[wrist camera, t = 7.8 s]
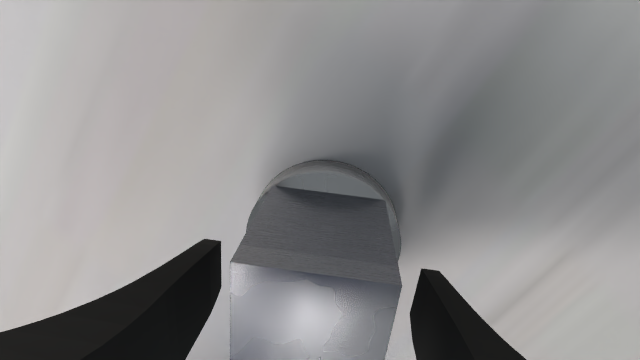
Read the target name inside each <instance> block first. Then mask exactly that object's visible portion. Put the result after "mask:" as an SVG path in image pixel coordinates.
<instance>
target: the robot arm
mask: <svg viewBox="0 0 640 360" xmlns="http://www.w3.org/2000/svg"><path fill="white" fill-rule="evenodd" d="M220 289H221V241H216V240H208V239H203V240H202V241H200V242H198V243H197V244H195V245H194V246H192V247H190V248H189V249H187V250H186V251H184V252H183V253H181V254H180V255H178V256H176V257H175V258H173V259H172V260H170V261H168V262H167V263H165V264H164V265H162V266H160V267H159V268H157V269H155V270H153V271H152V272H150V273H148V274H146V275H145V276H143V277H141V278H139V279H138V280H136V281H134V282H132V283H130V284H128V285H126V286H124V287H122V288H120V289H118V290H116V291H114V292H112V293H110V294H108V295H105V296H103V297H101V298H99V299H96V300H94V301H92V302H89V303H86V304H84V305H81V306H79V307H76V308H74V309H71V310H69V311H66V312H64V313H61V314H58V315H55V316H52V317H49V318H46V319H43V320H41V321H37V322H34V323H31V324H28V325H25V326H21V327H18V328H15V329H11V330H8V331H4V332H0V360H185V359H186V357H187V355H188V354H189V352H190V350H191V348H192V346H193V345H194V343H195V341H196V339H197V337H198V336H199V334H200V332H201V330H202V328H203V327H204V325H205V323H206V321H207V319H208V317H209V316H210V314H211V312H212V309H213V307H214V305H215V302H216V300H217V297H218V294H219V292H220ZM410 321H411V331H412V340H413V345H414V350H415V354H416V359H417V360H526V359H525V358H524V357H523V356H522V355H520V354H519V353H518V352H517V351H516V350H515V349H513V348H512V347H511V346H510V345H509V344H508V343H507V342H506V341H504V340H503V339H502V338H501V337H500V336H499V335H498V334H497V333H496V332H495V331H494V330H493V329H492V328H491V327H490V326H489V325H488V324H487V323H486V322H485V321H484V320H483V319H482V318H481V317H480V316H479V315H478V314H477V313H476V312H475V311H474V310H473V308H472V307H471V306H470V305H469V304H468V303H467V302H466V301H465V300H464V299H463V297H462V296H461V295H460V294H459V293H458V292H457V291H456V289H455V288H454V287H453V286H452V285H451V284H450V283H449V281H448V280H447V279H446V278H445V277H444V276H443V275H442V274H441V273H440V271H436V270H428V269H421V272H420V276H419V280H418V284H417V288H416V292H415V296H414V299H413V303H412V307H411V311H410Z"/></svg>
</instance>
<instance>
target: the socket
mask: <svg viewBox="0 0 640 360" xmlns="http://www.w3.org/2000/svg"><path fill="white" fill-rule="evenodd" d="M401 288H402V283H401V277H400V272H399V267H398V262H397V257H396V252H395V247H394V242H393V237H392V232H391V227H390V222H389V217H388V212H387V207H386V202H385V200H382V199H374V198H366V197H358V196H351V195H343V194H335V193H327V192H319V191H312V190H304V189H296V188H288V187H280V186H273V185H272V187H271V189H270V190H269V192H268V194H267V196H266V198H265V199H264V201H263V203H262V205H261V207H260V209H259V210H258V212H257V214H256V216H255V218H254V220H253V221H252V223H251V225H250V227H249V229H248V230H247V232H246V234H245V236H244V238H243V240H242V241H241V243H240V245H239V247H238V249H237V250H236V252H235V254H234V256H233V258H232V260H231V261H230V360H385V355H386V351H387V347H388V343H389V339H390V334H391V330H392V326H393V322H394V318H395V313H396V309H397V305H398V301H399V297H400V292H401Z"/></svg>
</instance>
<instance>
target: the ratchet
mask: <svg viewBox="0 0 640 360" xmlns="http://www.w3.org/2000/svg"><path fill="white" fill-rule="evenodd" d="M272 185H273V186H280V187H288V188H296V189H304V190H312V191H319V192H327V193H335V194H343V195H351V196H358V197H366V198H374V199H382V200H385V202H386V207H387V212H388V217H389V222H390V227H391V232H392V237H393V242H394V247H395V252H396V257H397V262H398V259H399V256H400V249H401V237H400V231H399V226H398V222H397V218H396V214H395V210H394V207H393V204H392V202H391V200H390V198H389V196H388V194H387V193H386V192H385V190H384V189H383V187H382V186H381V185H380V184H379V183H378V182H377V181H376V180H375V179H374V178H372V177H371V176H370V175H368V174H367V173H365V172H364V171H362V170H360V169H358V168H356V167H354V166H351V165H348V164H345V163H342V162H336V161H328V160H318V161H309V162H304V163H301V164H298V165H295V166H292V167H290V168H288V169H286V170H285V171H283V172H282V173H280V174H279V175H277V176H276V177H275V178H274V179H273V180H272V181H271V182H270V183H269V184H268V185H267V187H266V188H265V190H264V191H263V193H262V194H261V196H260V198H259V200H258V201H257V203H256V205H255V206H254V208H253V210H252V212H251V214H250V217H249V220H248V224H247V230H248V229H249V227H250V225H251V223H252V221H253V220H254V218H255V216H256V214H257V212H258V210H259V209H260V207H261V205H262V203H263V201H264V199H265V198H266V196H267V194H268V192H269V190H270V189H271V187H272ZM247 230H246V232H247Z"/></svg>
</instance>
